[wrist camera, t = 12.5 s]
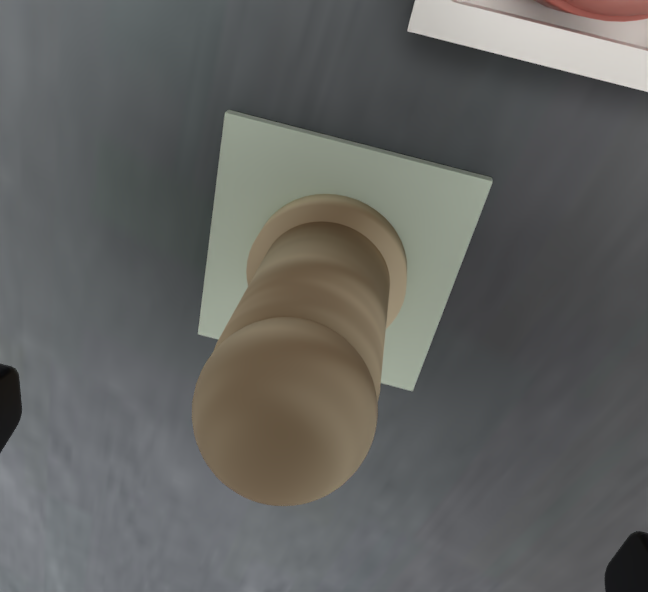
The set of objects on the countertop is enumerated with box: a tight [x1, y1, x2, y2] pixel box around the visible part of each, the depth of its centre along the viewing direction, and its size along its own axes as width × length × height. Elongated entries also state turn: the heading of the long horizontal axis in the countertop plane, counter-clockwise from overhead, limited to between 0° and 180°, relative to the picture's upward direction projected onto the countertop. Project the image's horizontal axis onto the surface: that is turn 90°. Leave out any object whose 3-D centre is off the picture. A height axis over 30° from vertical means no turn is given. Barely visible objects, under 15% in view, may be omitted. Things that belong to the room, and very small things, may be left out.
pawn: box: [192, 194, 407, 506], centre depth 15 cm, size 5×5×9 cm
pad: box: [198, 110, 493, 391], centre depth 19 cm, size 8×8×1 cm
